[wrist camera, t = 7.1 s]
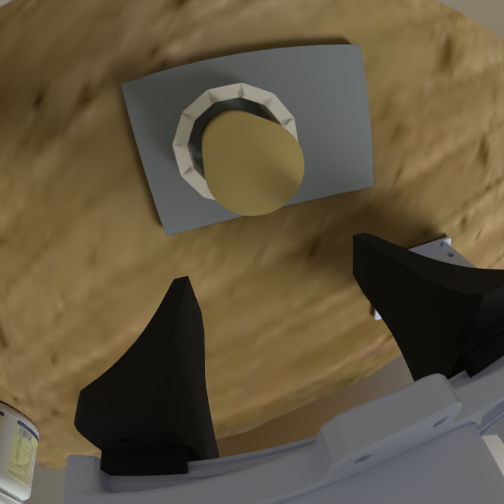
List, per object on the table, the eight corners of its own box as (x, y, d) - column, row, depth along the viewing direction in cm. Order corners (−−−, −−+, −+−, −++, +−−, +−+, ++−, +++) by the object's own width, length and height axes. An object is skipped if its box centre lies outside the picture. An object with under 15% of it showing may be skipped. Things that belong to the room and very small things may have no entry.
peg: (258, 104, 18) (297, 112, 11) (267, 162, 20) (308, 205, 13) (195, 116, 17) (194, 131, 10) (208, 175, 19) (216, 225, 13)
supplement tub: (-18, 412, 31) (-37, 485, 16) (-20, 386, 27) (-47, 474, 13) (37, 441, 36) (26, 516, 22) (45, 422, 33) (31, 514, 18)
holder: (353, 45, 17) (379, 41, 14) (367, 182, 23) (391, 198, 20) (124, 84, 16) (110, 83, 13) (167, 230, 22) (163, 253, 19)
